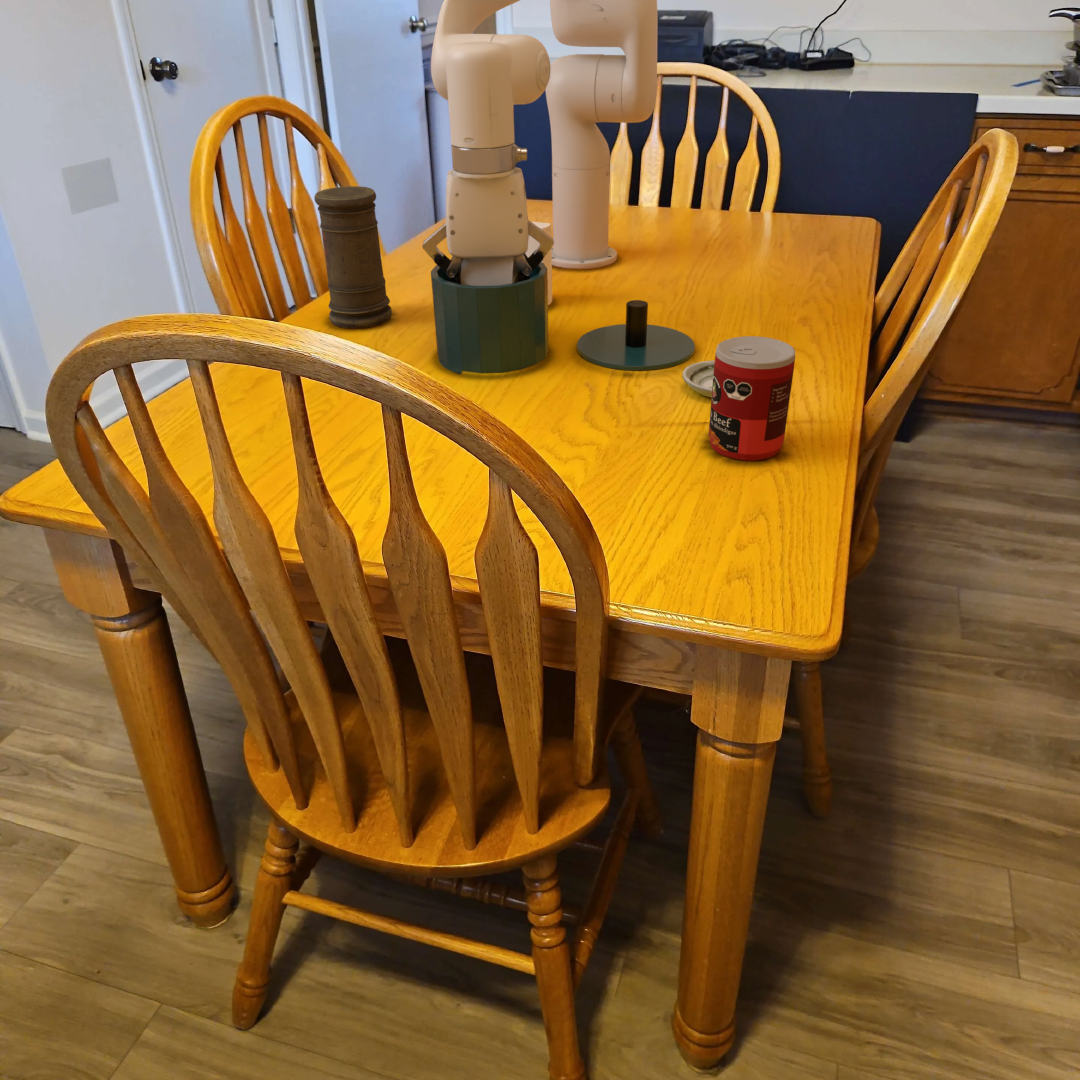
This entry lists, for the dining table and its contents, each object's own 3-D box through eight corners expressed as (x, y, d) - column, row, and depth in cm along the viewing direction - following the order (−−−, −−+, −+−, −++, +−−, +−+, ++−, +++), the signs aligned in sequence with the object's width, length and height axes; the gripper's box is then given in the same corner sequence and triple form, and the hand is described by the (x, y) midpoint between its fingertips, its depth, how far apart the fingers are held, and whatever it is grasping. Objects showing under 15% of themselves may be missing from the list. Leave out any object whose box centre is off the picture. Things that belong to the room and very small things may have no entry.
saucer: (744, 416, 106) (746, 396, 105) (667, 399, 111) (669, 380, 109) (774, 387, 113) (776, 368, 112) (700, 372, 118) (702, 354, 116)
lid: (574, 333, 130) (574, 286, 127) (684, 330, 130) (688, 283, 127) (580, 376, 117) (580, 325, 114) (703, 373, 117) (707, 322, 114)
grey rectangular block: (513, 328, 119) (510, 250, 114) (463, 324, 121) (458, 247, 115) (520, 318, 122) (518, 241, 117) (472, 315, 124) (467, 239, 118)
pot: (441, 337, 130) (435, 255, 124) (547, 335, 130) (546, 252, 124) (433, 378, 117) (425, 289, 111) (550, 375, 118) (548, 286, 111)
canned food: (700, 432, 103) (708, 337, 97) (770, 428, 104) (782, 333, 98) (717, 464, 97) (726, 365, 91) (792, 460, 97) (806, 360, 91)
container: (401, 311, 139) (389, 186, 130) (373, 332, 132) (358, 201, 122) (349, 306, 142) (332, 183, 132) (318, 326, 135) (299, 197, 125)
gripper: (555, 151, 114) (557, 293, 123) (414, 155, 114) (426, 296, 123) (557, 164, 107) (559, 312, 117) (407, 168, 107) (421, 315, 117)
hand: (491, 303), depth 120 cm, fingers closed on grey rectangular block, 7 cm apart
